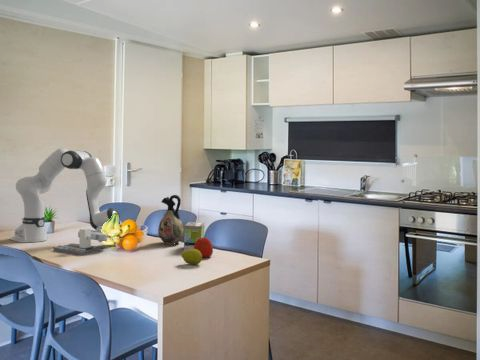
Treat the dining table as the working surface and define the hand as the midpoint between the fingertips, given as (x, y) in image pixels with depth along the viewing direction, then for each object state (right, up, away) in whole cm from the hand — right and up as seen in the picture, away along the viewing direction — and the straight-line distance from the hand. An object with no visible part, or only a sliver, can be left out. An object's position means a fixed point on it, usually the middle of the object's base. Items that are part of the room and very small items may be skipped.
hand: (83, 237), depth 245 cm
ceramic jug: (+43, -8, +31) cm, 53 cm away
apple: (+65, -10, -3) cm, 65 cm away
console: (-5, -8, +4) cm, 10 cm away
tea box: (+58, -9, +16) cm, 61 cm away
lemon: (+61, -11, -21) cm, 65 cm away
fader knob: (0, -6, +1) cm, 6 cm away
